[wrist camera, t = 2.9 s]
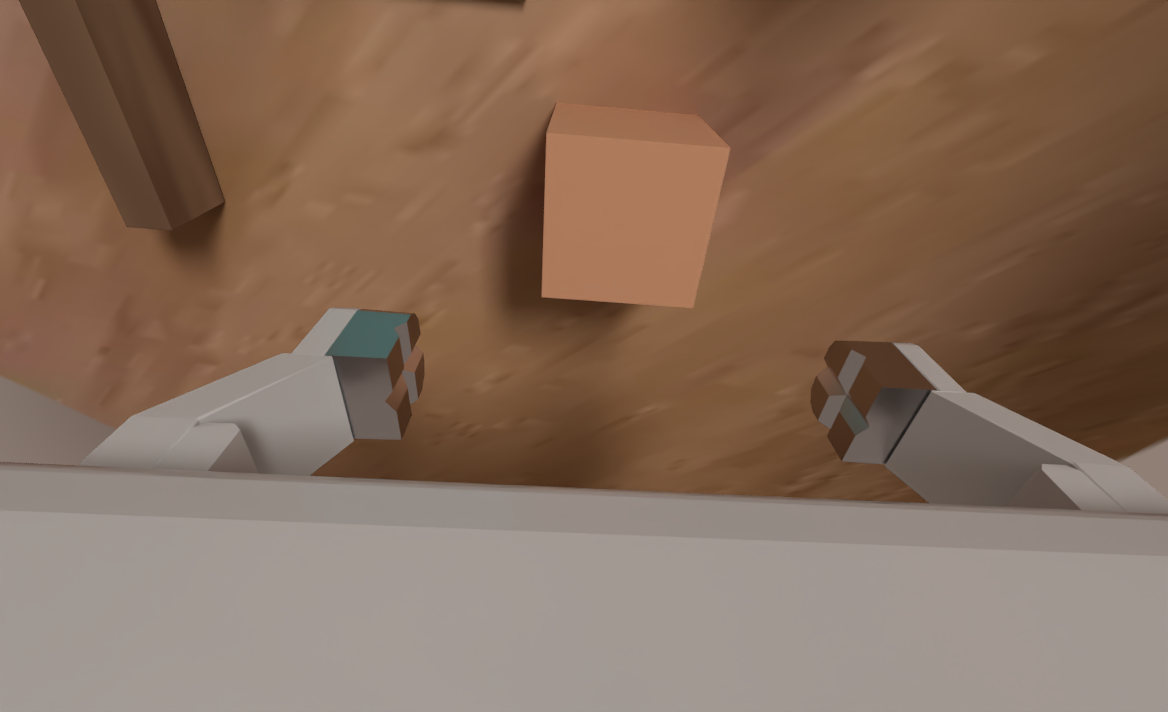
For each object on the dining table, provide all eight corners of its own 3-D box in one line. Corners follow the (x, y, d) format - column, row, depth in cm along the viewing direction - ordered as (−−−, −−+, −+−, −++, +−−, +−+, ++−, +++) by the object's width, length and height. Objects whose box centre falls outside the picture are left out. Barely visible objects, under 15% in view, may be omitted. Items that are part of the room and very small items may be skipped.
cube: (697, 114, 17) (730, 148, 13) (672, 247, 20) (693, 307, 16) (556, 102, 17) (546, 132, 13) (551, 238, 20) (541, 297, 16)
